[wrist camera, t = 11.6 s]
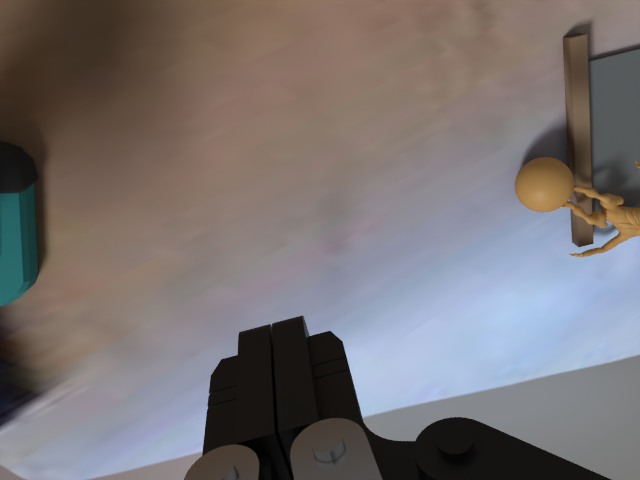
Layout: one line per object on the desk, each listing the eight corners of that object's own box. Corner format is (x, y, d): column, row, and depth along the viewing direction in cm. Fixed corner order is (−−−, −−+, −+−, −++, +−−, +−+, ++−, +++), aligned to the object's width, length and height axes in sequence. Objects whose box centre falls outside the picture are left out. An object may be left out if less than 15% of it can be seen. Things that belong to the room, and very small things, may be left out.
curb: (562, 37, 40) (570, 38, 39) (579, 33, 40) (587, 34, 39) (572, 242, 46) (578, 247, 45) (586, 238, 46) (593, 243, 45)
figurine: (557, 125, 38) (719, 204, 38) (540, 111, 44) (681, 180, 44) (492, 230, 41) (641, 301, 41) (484, 204, 47) (615, 268, 47)
